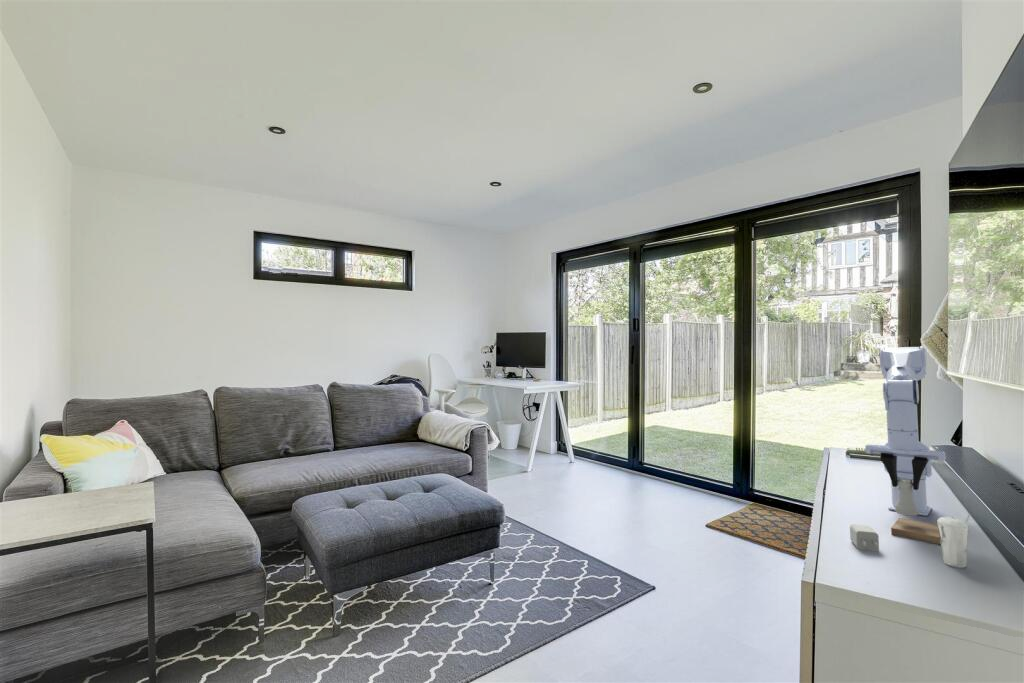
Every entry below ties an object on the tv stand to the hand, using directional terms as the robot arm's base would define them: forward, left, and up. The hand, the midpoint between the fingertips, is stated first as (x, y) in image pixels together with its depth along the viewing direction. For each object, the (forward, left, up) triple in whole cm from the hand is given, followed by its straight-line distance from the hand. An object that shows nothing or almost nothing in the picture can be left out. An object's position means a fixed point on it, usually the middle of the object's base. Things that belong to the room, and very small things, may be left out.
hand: (905, 487), depth 113 cm
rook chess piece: (0, 0, -6) cm, 6 cm away
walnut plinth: (0, +3, -10) cm, 11 cm away
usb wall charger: (+19, -4, -10) cm, 22 cm away
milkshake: (+16, +10, -10) cm, 22 cm away
